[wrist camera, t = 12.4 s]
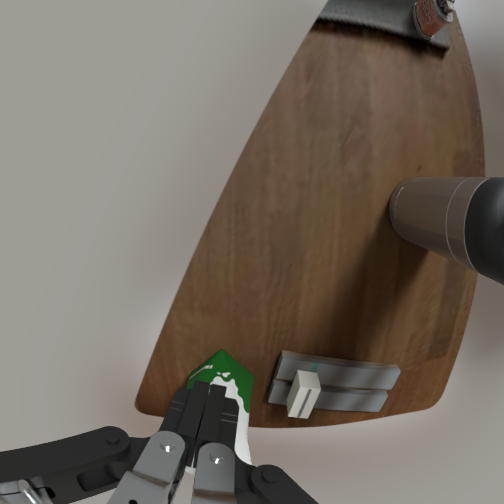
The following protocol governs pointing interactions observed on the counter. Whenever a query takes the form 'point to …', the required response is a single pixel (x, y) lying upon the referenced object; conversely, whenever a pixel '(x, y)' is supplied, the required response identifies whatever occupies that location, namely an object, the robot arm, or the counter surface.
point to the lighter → (432, 16)
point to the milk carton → (228, 394)
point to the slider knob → (303, 394)
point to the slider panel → (336, 381)
